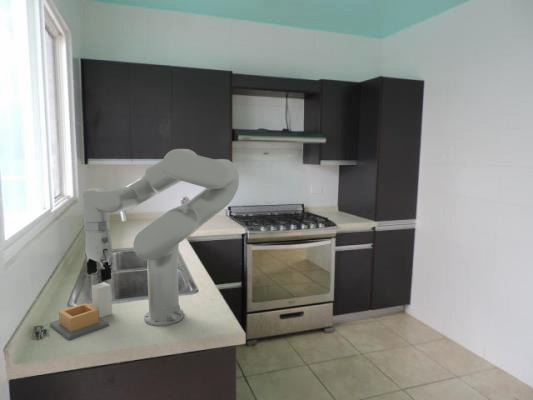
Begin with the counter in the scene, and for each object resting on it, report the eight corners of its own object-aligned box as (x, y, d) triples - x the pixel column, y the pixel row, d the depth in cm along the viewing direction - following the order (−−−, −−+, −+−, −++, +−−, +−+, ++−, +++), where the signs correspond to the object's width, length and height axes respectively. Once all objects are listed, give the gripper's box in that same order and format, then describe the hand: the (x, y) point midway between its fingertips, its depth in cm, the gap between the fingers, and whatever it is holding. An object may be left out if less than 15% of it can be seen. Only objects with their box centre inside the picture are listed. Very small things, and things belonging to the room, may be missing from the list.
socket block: (108, 325, 119) (107, 310, 119) (68, 340, 110) (67, 323, 110) (88, 313, 128) (87, 299, 128) (50, 325, 119) (48, 310, 119)
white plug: (112, 313, 128) (110, 285, 127) (99, 317, 125) (97, 288, 124) (106, 310, 131) (104, 282, 130) (93, 314, 128) (91, 285, 126)
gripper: (121, 228, 121) (123, 280, 124) (96, 220, 132) (98, 268, 135) (98, 231, 116) (100, 285, 118) (73, 223, 127) (76, 273, 129)
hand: (99, 276), depth 126 cm, fingers open, 9 cm apart
